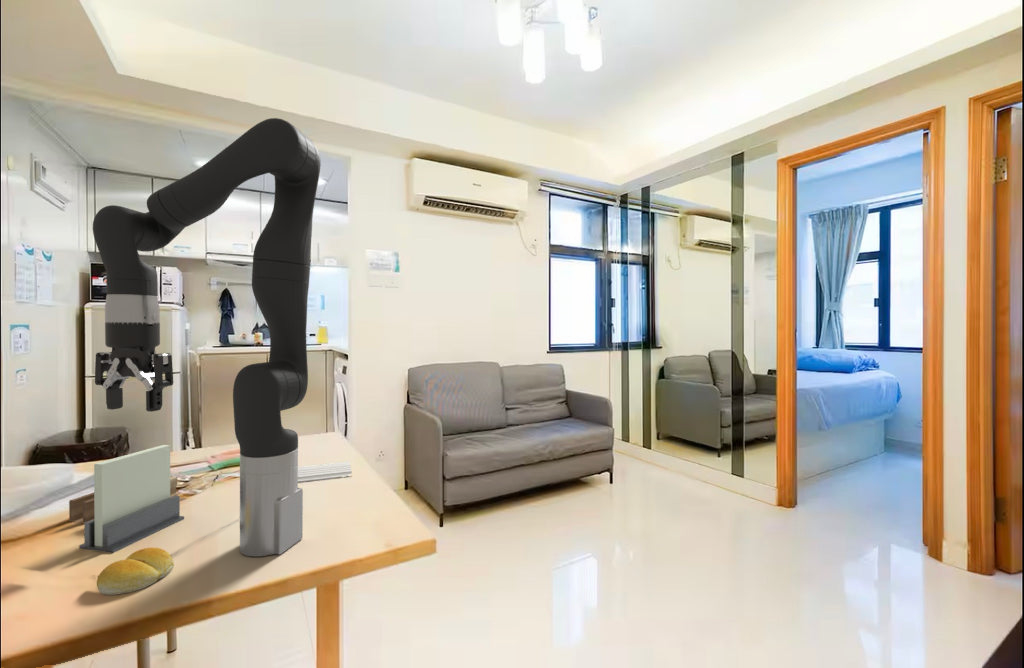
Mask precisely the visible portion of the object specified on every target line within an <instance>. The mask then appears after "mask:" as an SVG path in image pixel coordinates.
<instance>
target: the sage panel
mask: <svg viewBox="0 0 1024 668" xmlns="http://www.w3.org/2000/svg"><path fill="white" fill-rule="evenodd" d="M93 470H94V471H93V473H94V474H93V482H94V487H93V488H94V489H93V491H94V512H95V546H103V525H104V524H106V523H109V522H111V521H113V520H116V519H118V518H121V517H123V516H126V515H128V514H131V513H133V512H135V511H138V510H140V509H143V508H145V507H148V506H150V505H153V504H155V503H158V502H160V501H162V500H165V499H167V498H170V476H171V445H170V444H169V445H168V444H162V445H161V444H160V445H158V446H153V447H149V448H147V449H144V450H140V451H136V452H131V453H129V454H125V455H121V456H118V457H114V458H110V459H107V460H104V461H99V462H96V463H94V464H93Z"/></svg>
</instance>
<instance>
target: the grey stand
mask: <svg viewBox="0 0 1024 668" xmlns="http://www.w3.org/2000/svg"><path fill="white" fill-rule="evenodd" d="M180 498H181V497H180V495H178V494H177V495H175V496H172V497H170V498H167V499H165V500H162V501H160V502H158V503H155V504H153V505H150V506H148V507H145V508H143V509H140V510H138V511H135V512H133V513H131V514H128V515H126V516H123V517H121V518H118V519H116V520H113V521H111V522H109V523H106V524H104V525H103V546H95V519H93V520H90V521H87V522H85V523H83V524H84V525H83V526H84V527H83V528H84V535H83V536H84V542H83V543H82V544H79V546H78V547H79V549H81V550H88V551H95V552H103V553H108V554H109V553H111V554H114V553H117V552H118V551H120V550H122V549H125V548H127V547H129V546H131V545H133V544H136V543H138V542H139V541H141V540H143V539H146V538H148V537H150V536H152V535H154V534H156V533H158V532H160V531H163V530H164V529H166V528H168V527H169V528H170V527H171V526H173V525H175V524H177V523H180V522H181V521H184V520H185V516H184V515H183V516H182V515H180V511H181V510H180V507H181V506H180V505H181V503H180V502H181V501H180Z"/></svg>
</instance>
